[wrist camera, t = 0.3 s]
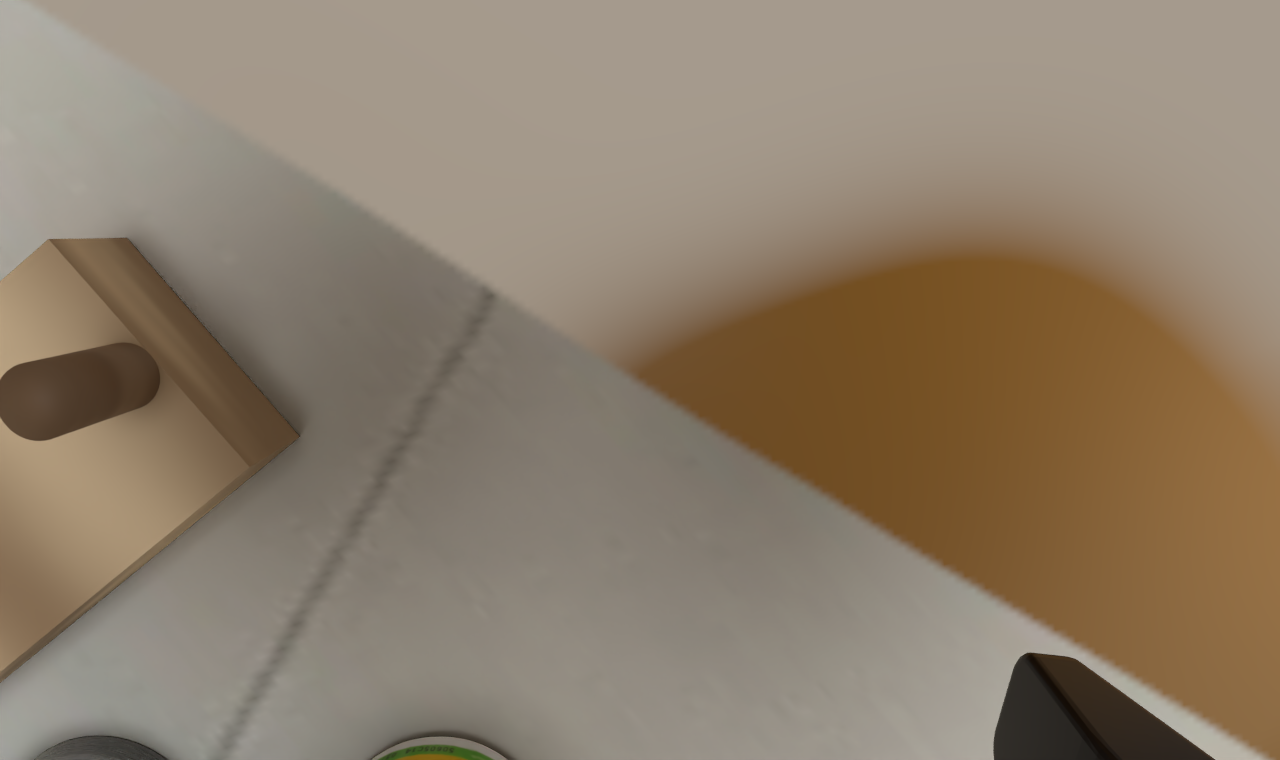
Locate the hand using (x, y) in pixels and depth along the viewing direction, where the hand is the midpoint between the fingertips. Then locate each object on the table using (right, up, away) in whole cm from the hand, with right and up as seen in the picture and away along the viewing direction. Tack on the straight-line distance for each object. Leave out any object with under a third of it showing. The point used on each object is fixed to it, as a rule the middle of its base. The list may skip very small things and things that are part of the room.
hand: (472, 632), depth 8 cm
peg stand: (-14, -1, +15) cm, 20 cm away
